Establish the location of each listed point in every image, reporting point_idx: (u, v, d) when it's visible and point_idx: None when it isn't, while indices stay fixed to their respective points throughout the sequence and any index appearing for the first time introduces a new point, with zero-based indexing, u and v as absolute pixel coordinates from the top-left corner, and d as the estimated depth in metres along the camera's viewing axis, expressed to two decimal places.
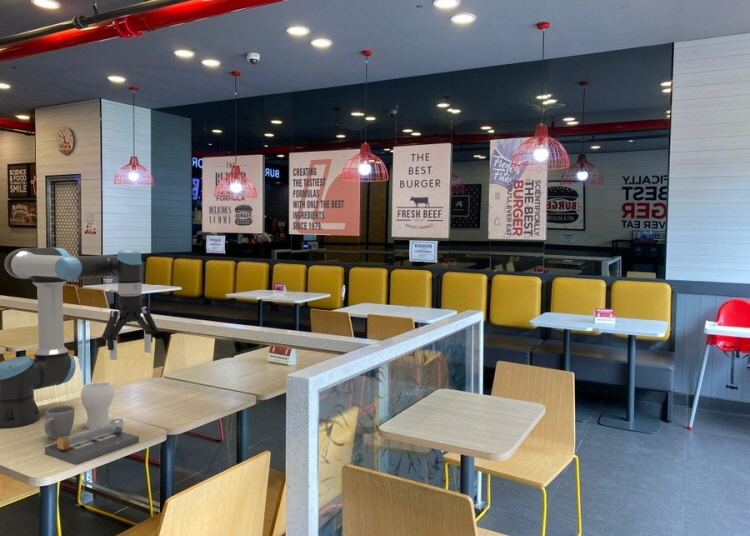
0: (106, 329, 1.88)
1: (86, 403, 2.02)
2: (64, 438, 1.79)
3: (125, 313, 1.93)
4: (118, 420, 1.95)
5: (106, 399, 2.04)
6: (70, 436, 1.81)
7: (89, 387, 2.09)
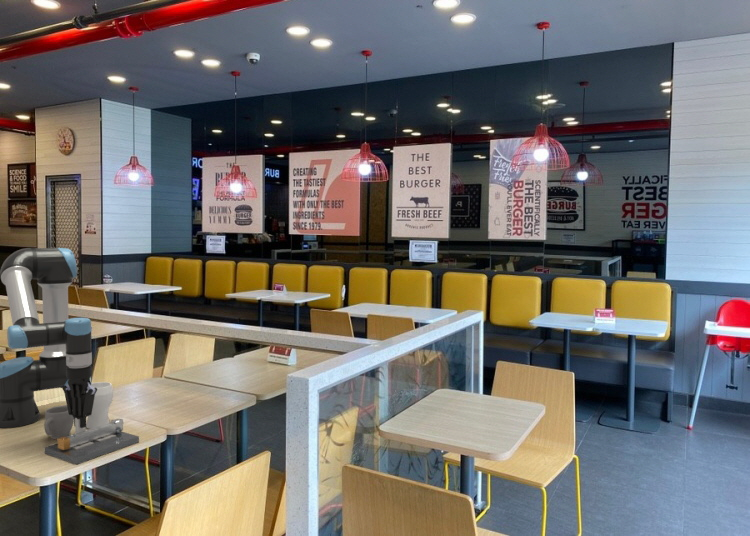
0: None
1: None
2: (64, 438, 1.78)
3: (70, 383, 1.85)
4: (118, 420, 1.95)
5: (106, 399, 2.04)
6: (70, 436, 1.81)
7: None
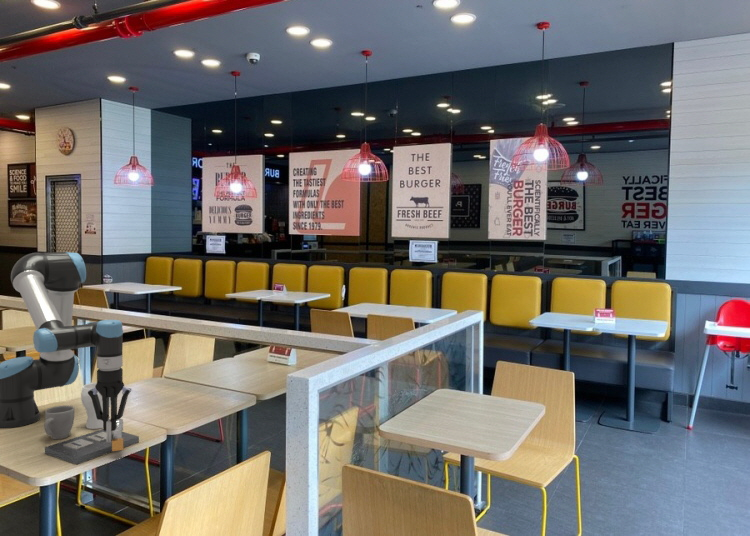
0: None
1: (86, 403, 2.02)
2: (119, 439, 1.78)
3: (100, 386, 1.81)
4: (118, 420, 1.96)
5: None
6: (117, 437, 1.80)
7: (89, 387, 2.09)
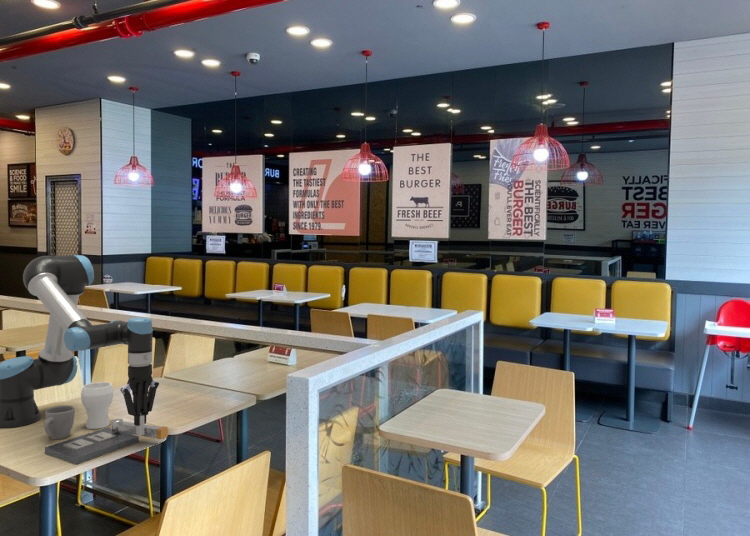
0: (127, 406, 1.86)
1: (86, 403, 2.02)
2: (163, 427, 1.89)
3: (134, 383, 1.86)
4: (117, 420, 1.96)
5: (106, 399, 2.04)
6: (156, 427, 1.89)
7: (89, 387, 2.09)
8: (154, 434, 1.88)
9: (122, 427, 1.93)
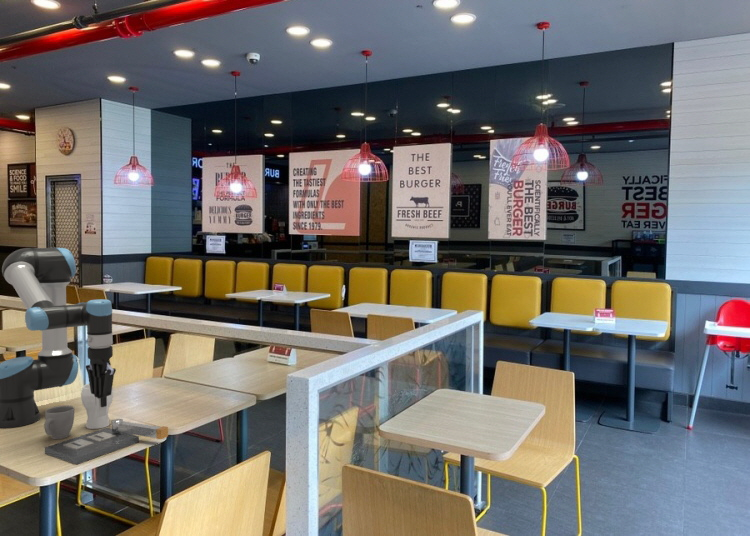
0: None
1: (86, 403, 2.02)
2: (163, 427, 1.89)
3: (92, 363, 1.89)
4: (117, 420, 1.96)
5: None
6: (156, 427, 1.89)
7: (89, 387, 2.09)
8: (154, 434, 1.88)
9: (122, 427, 1.93)
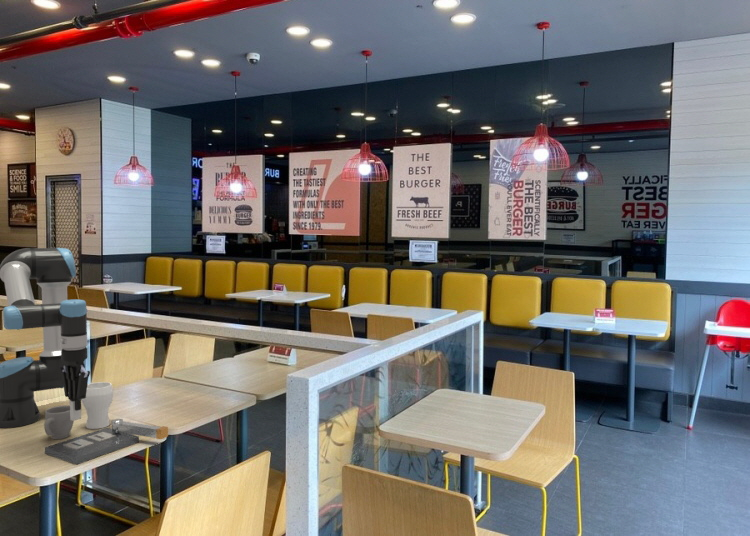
0: None
1: (86, 403, 2.02)
2: (163, 427, 1.89)
3: (66, 365, 1.84)
4: (117, 420, 1.96)
5: (106, 399, 2.04)
6: (156, 427, 1.89)
7: (89, 387, 2.09)
8: (154, 434, 1.88)
9: (122, 427, 1.93)
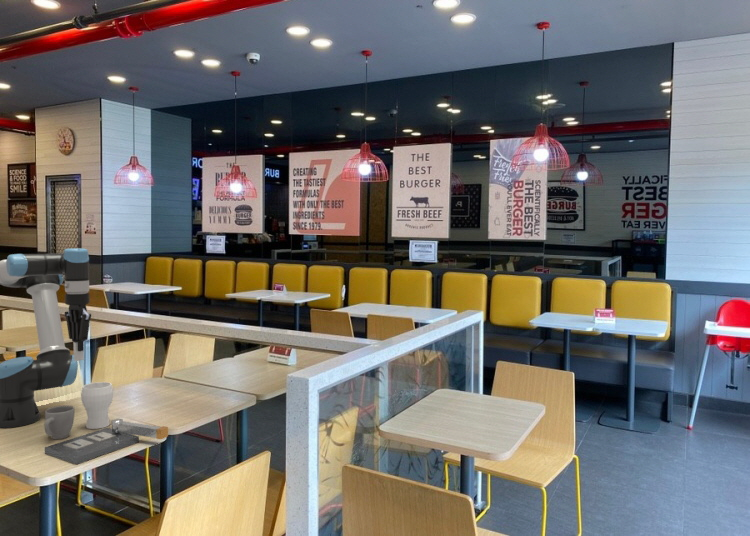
0: None
1: (86, 403, 2.02)
2: (163, 427, 1.89)
3: (70, 309, 1.97)
4: (117, 420, 1.96)
5: (106, 399, 2.04)
6: (156, 427, 1.89)
7: (89, 387, 2.09)
8: (154, 434, 1.88)
9: (122, 427, 1.93)
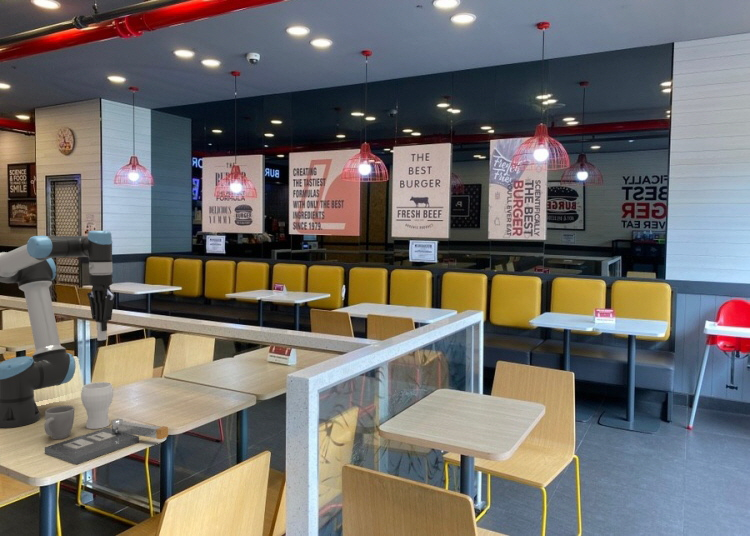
0: None
1: (86, 403, 2.02)
2: (163, 427, 1.89)
3: (93, 290, 2.02)
4: (117, 420, 1.96)
5: (106, 399, 2.04)
6: (156, 427, 1.89)
7: (89, 387, 2.09)
8: (154, 434, 1.88)
9: (122, 427, 1.93)
